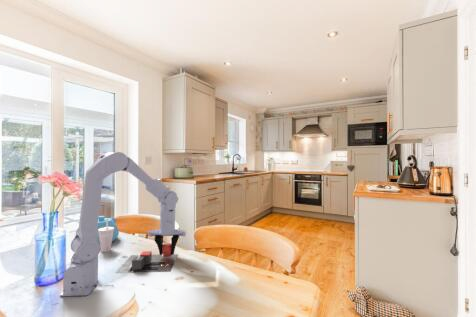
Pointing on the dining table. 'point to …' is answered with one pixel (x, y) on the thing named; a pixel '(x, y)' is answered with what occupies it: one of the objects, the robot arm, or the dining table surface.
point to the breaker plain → (137, 263)
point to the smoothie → (105, 237)
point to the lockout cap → (166, 249)
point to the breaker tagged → (147, 256)
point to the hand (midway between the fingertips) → (167, 253)
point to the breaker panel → (150, 264)
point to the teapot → (110, 224)
